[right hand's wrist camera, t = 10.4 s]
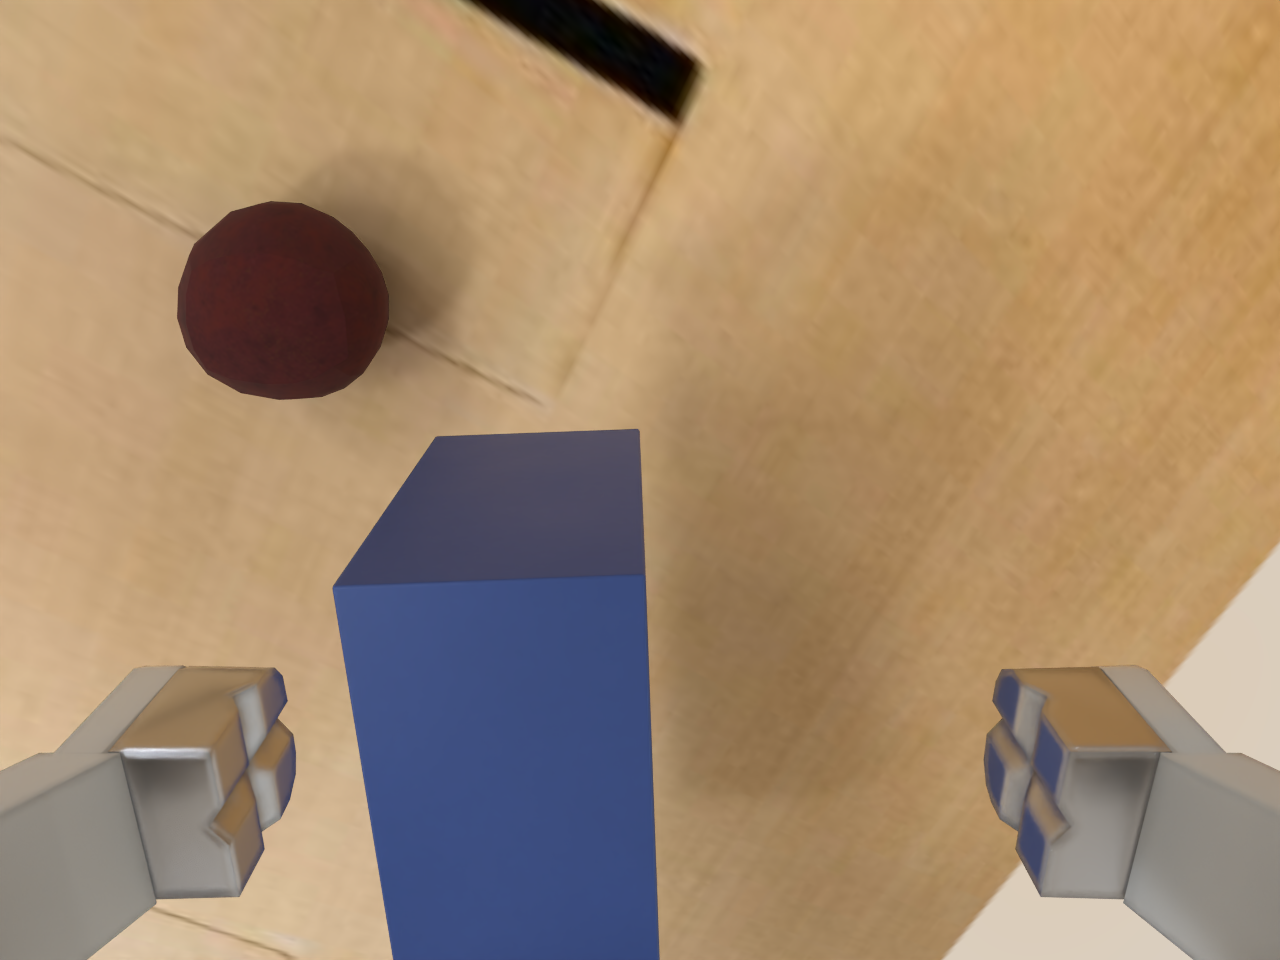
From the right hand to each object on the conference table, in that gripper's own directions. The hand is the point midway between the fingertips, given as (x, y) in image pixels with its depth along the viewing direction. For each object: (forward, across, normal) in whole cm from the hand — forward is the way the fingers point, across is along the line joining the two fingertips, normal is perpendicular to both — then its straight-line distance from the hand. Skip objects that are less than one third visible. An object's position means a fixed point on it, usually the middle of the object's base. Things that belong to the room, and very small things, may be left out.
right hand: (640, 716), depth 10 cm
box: (+18, +3, +16) cm, 24 cm away
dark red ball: (+30, +14, 0) cm, 33 cm away
